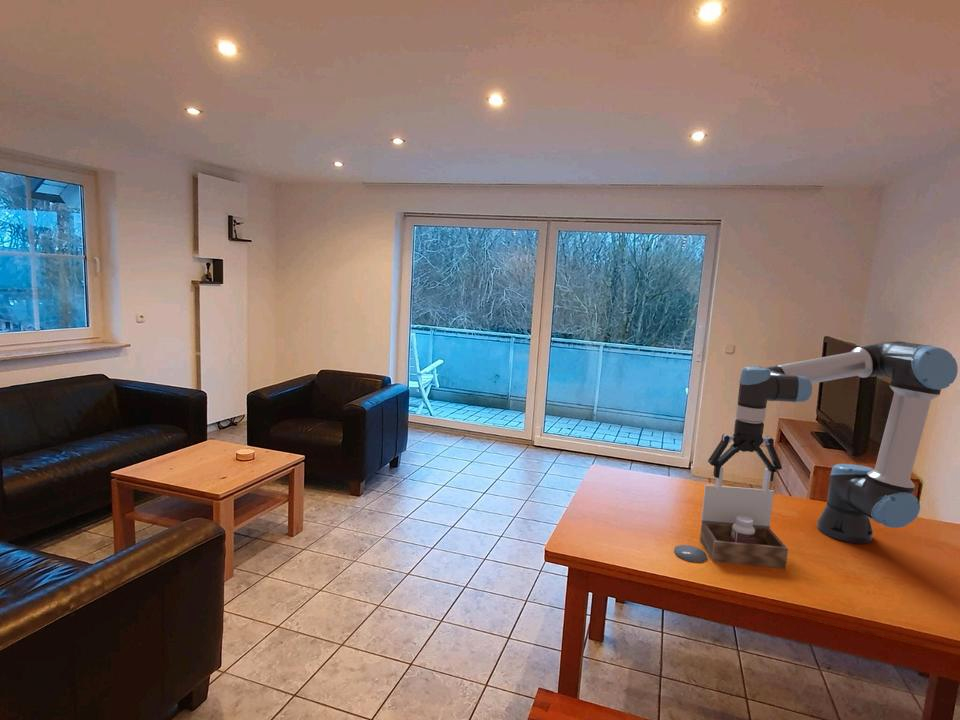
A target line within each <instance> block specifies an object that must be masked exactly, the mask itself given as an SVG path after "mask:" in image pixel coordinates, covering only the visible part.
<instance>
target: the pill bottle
mask: <svg viewBox="0 0 960 720" xmlns="http://www.w3.org/2000/svg"><path fill="white" fill-rule="evenodd" d="M735 521H736V523H734V524H733V525H732V533H731V541H730V542H738V543H749V544H754V536H755V529H754V527H753V520H752V519H751V518H749V517H746V516H736V520H735Z"/></svg>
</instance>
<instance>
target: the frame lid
mask: <svg viewBox="0 0 960 720" xmlns="http://www.w3.org/2000/svg"><path fill="white" fill-rule="evenodd" d="M703 493H704V494H703V502H702V510H701V518H700V519H701V520H700V523H701V524H702V523H712V524H723V525H733V524H734V523H736V521H735V520H736V516H746V517H749V518H751V519H752V520H753V527H757V528H769V529H771V526H770V524H771V518H772V517H771V516H772V509H773V501H774V495H775V494H774V493H775V491H774V489H769V493H766V492H764V491H763V490H762V488H752V487H751V488H749V487H738V486H727V485H726V486H725V485H722V486H721V490H718V489H717V488H716V487H715V484H714V485H713V484H704V491H703Z"/></svg>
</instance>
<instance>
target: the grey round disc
mask: <svg viewBox="0 0 960 720" xmlns="http://www.w3.org/2000/svg"><path fill="white" fill-rule="evenodd" d="M673 553H674V554H675V556H677V557H678V558H679V557H680V559H682V560H683V561H686V560H687V562H690V563H702V562H703V563H704V562H705V561H707V552H705V551H704V550H703V549H701V548H699V547H696V546H693V545H688V544H679V545H676V546H675V547H674V549H673Z"/></svg>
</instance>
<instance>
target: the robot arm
mask: <svg viewBox="0 0 960 720" xmlns="http://www.w3.org/2000/svg"><path fill="white" fill-rule="evenodd" d="M958 371H959V370H958V362H957V360H956V358H955V357H954V355H952V352H950V351H948V350H947V349H945V348H942V347H938V346H935V345H931V344H930V345H929V344H920V343H912V342H905V341H900V340H899V341H898V340H897V341H896V340H895V341H885V342H880V343H874V344H868V345H865V346H857V347H854V348H853V349H852V350H851V351H848V352H843V353H839V354H838V353H837V354H832V355H827V356H822V357H816V358H812V359H806V360H801V361H795V362H790V363H784V364H778V365H773V366H767V367H764V366H756V365H755V366H745V367H743V368H742V369H741V373H740V377H739V382H738V383H739V387H738V394H737V395H738V396H737V405H736V412H735V417H736V419H735V420H734V428H733V429H734V431H733V435H728V434H726V433H723V434H722V435H721V439H720V441H719V443H718V444H717V446H716V447H715V449H714V451H713V452H712V453H711V455H710V456H709V458H708V460H707V462H708V463H709V464H710V466H713V474H712V475H713V477H714V478H715V482H714V483H715V484H714V485H715V487H716V488H717V489H718V490H721V486H723V477H724V476H723V475H724V467H723V466H724V465H725V464H726V463H727V462H728V461H729V460H730V459H732V457H734V456H735V455H736V454H737V453H739V452H740V451H741V452H742V453H743V452H744V453H746V452H749V453H753V452H755V453H756V454H757V455H758V457H759V458H760V460H761V461H762V462H763V464H764V465H765V468H763V478H762V485H761V489H762V490H763V491H764V492H766V493H769V490H770V483H771V482H773V481H774V477H775V476H774V475H775V473H776V472H777V470H779V471H780V470H782V468H783V466H782V463H781V461H780V458H779V456H778V453H777V452H776V451H777V450H776V449H775V445H774V442H775V441H774V439H773V438H772V437H770V436H769V435H767V436H766V437H763V435H764V429H765V423H764V422H765V421H766V420H765V419H766V413H767V412H766V411H767V404H768V402H789V403H790V402H791V403H800V402H801V403H802V402H803V403H804V402H806V401H808V400H809V399H810V398H811V396H812V393H813V385H812V384H818V383H824V382H828V381H829V382H830V381H834V380H840V379H845V378H851V377H856V376H857V377H859V378H864V379H865V378H868V377H869V378H870V377H871V378H872V377H878V378H886V379H890V383H889V387H890V389H891V391H893V396H892V400H891V405H890V408H889V412H888V417H887V420H886V423H885V427H884V432H883V435H882V439H881V443H880V447H879V451H878V454H877V458H876V463H875V466H874V468H872V467H870V466H865V465H860V464H854V463H853V464H851V463H836V464H834V465H833V466H832V468H831V472H830V474H829V484H828V491H827V500H826V505H825V507H824V509H823V510H822V513H821V514H820V516H819V518H818V519H817V523H816V527H817V529H818V530H819V531H820V532H821V533H823V534H824V535H826V536H828V537H831V538H832V539H836V540H839V541H843V542H847V543H851V544H852V543H853V544H861V545H863V544H868V543H871V542H872V541H873V535H874V532H873V528H872V524H871V523H872V522H871V520H870V519H872V520H874V522H875V523H878V524H881V525H883V526H885V527H888V528H891V529H893V528H894V529H898V528H902V527H906V526H908V525H909V524H911V523H913V522H914V521H915V520H916V519H917V517H918V516H919V515H920V511H921V503H920V502H919V499H918V498H917V497H916V495H914V491H915V488H916V487H915V483H914V482H913V481H912V480H911V477H912V473H913V469H914V465H915V462H916V458H917V455H918V451H919V446H920V443H921V439H922V436H923V432H924V427H925V425H926V420H927V416H928V413H929V410H930V405H931V402H932V400H933V399H936V398H937V397H939V396H940V395H941V390H943V389H946V388H948V387H950V386H951V384H953V383H954V382H955V381H956V379H957V375H958ZM731 441H733V443H731ZM730 443H731V445H730V447H729V448H728V449H727V446H729V444H730ZM762 444H764V445H765V446H766V449H767V452H768V455H769V458H770V460H771V461H770V460H769V458H768V456H767V455H766V454H765V453H764V450H763V449H762V448H761V447H760V446H761V445H762ZM725 450H726V451H725Z"/></svg>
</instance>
